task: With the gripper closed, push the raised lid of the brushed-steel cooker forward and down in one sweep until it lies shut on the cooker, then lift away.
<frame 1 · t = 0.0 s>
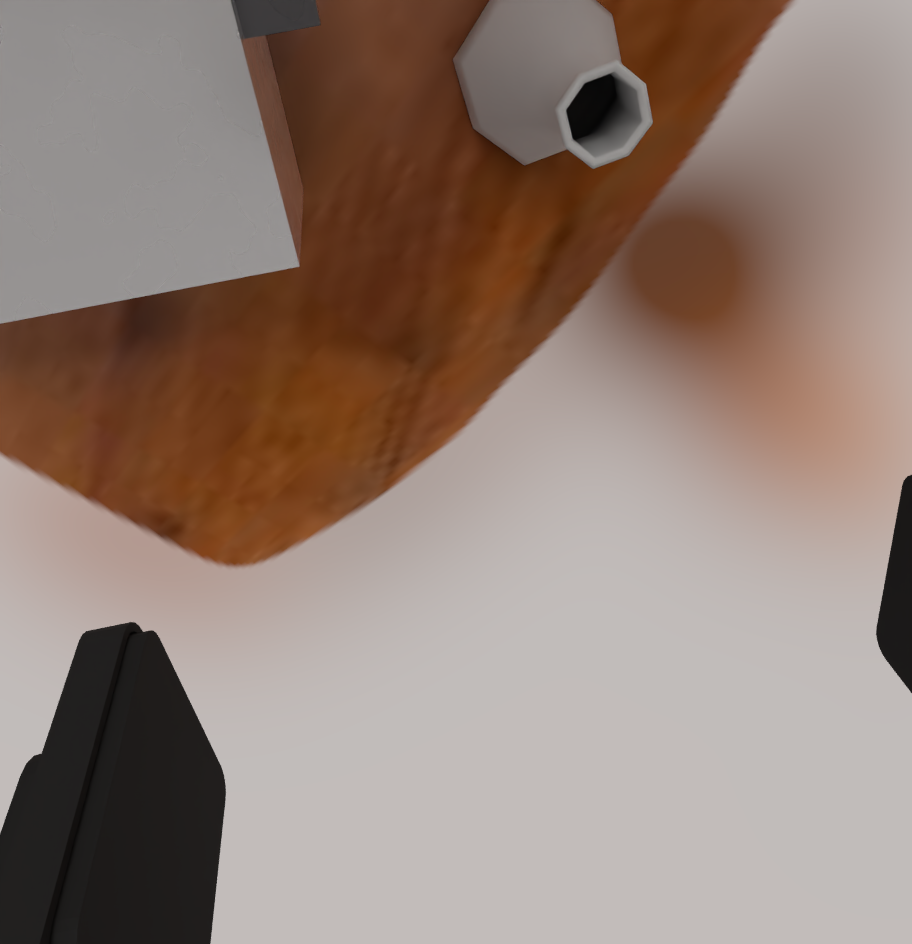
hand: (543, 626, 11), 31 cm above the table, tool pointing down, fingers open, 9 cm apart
flask: (538, 71, 37), on the table
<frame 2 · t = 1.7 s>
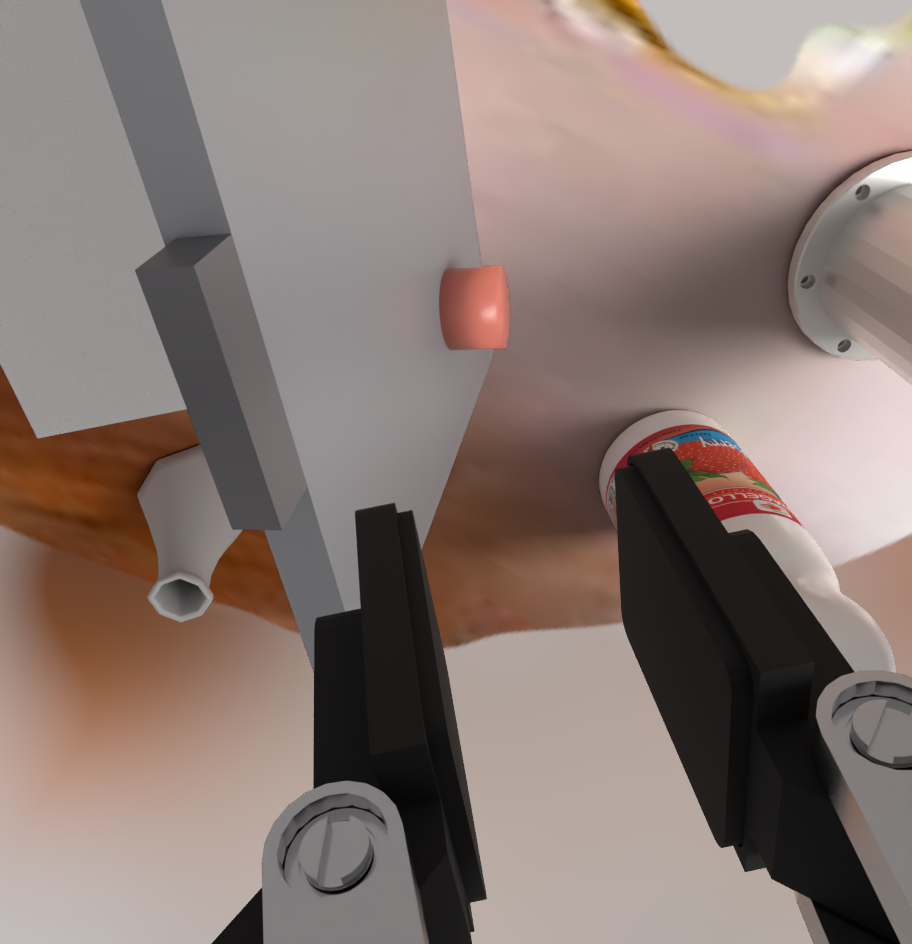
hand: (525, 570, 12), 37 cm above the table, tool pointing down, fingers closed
flask: (201, 492, 54), on the table
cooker: (208, 128, 42), on the table
fruit juice: (661, 465, 58), on the table
lid: (398, 222, 25), point 21 cm above the table, hinge at 70.0°
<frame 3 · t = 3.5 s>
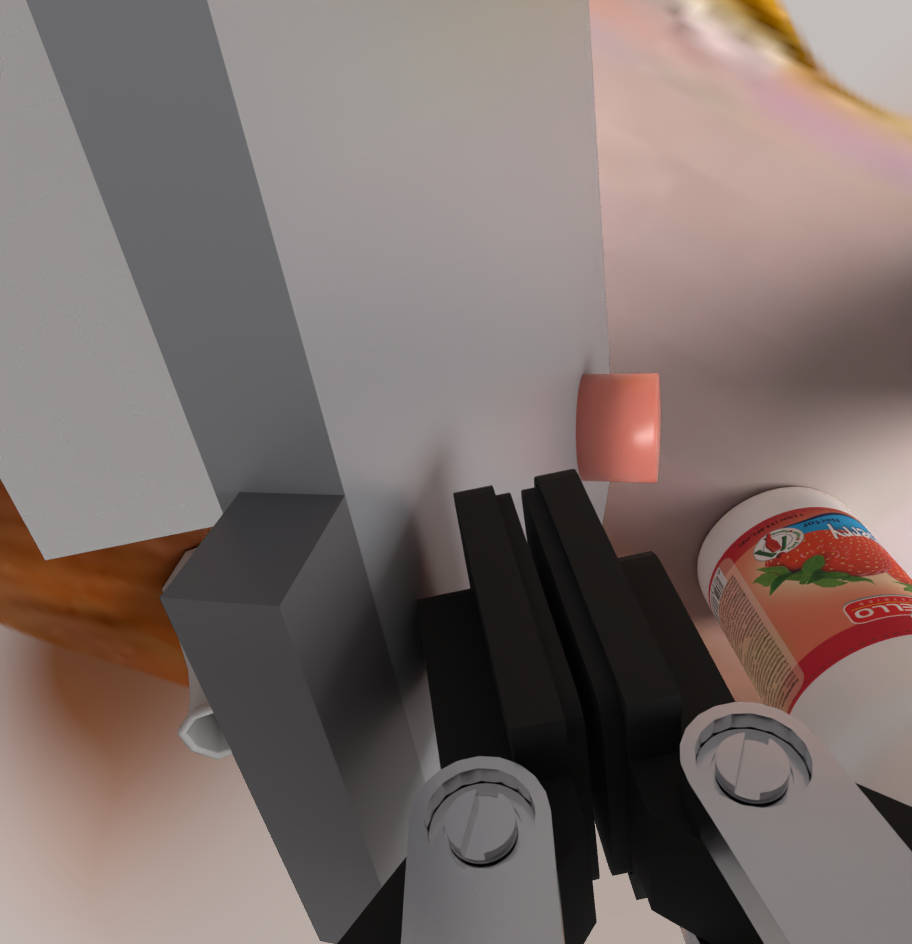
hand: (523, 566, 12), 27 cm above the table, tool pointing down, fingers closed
flask: (237, 585, 46), on the table
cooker: (254, 168, 34), on the table
fruit juice: (769, 546, 49), on the table
lid: (548, 345, 17), point 21 cm above the table, hinge at 67.9°, touching gripper
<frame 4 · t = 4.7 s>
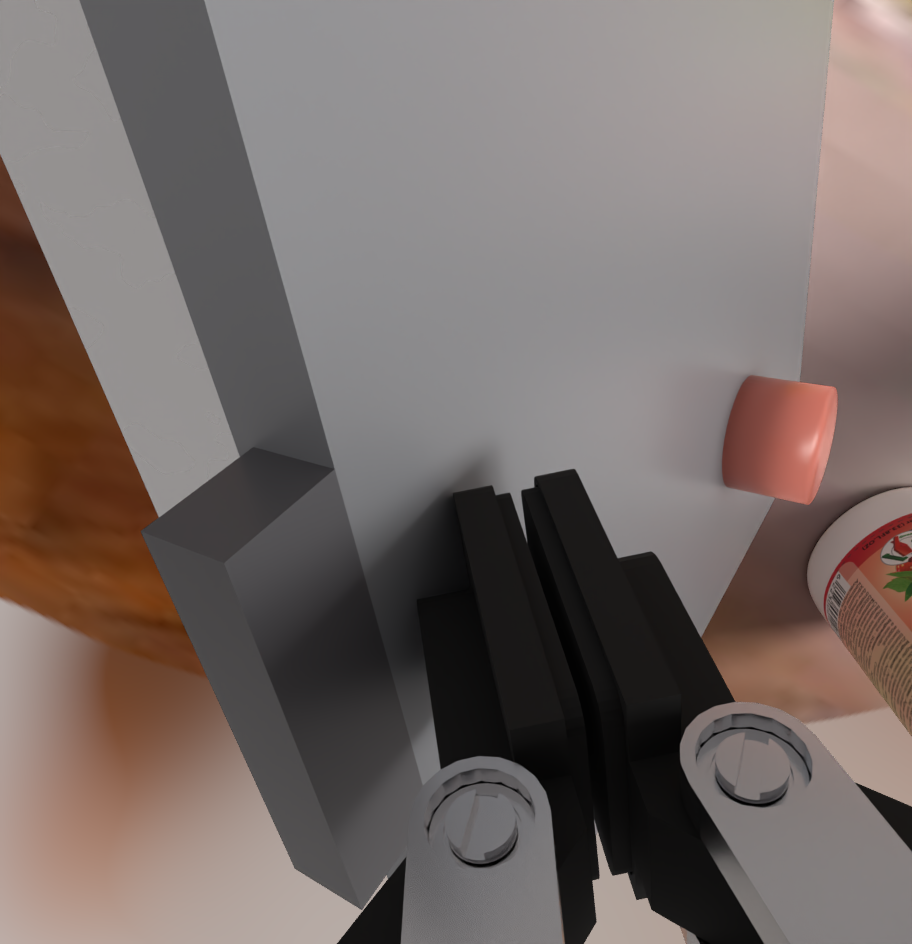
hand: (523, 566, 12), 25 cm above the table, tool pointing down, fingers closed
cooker: (390, 152, 32), on the table
fruit juice: (880, 548, 48), on the table
lid: (683, 342, 16), point 19 cm above the table, hinge at 48.6°, touching gripper
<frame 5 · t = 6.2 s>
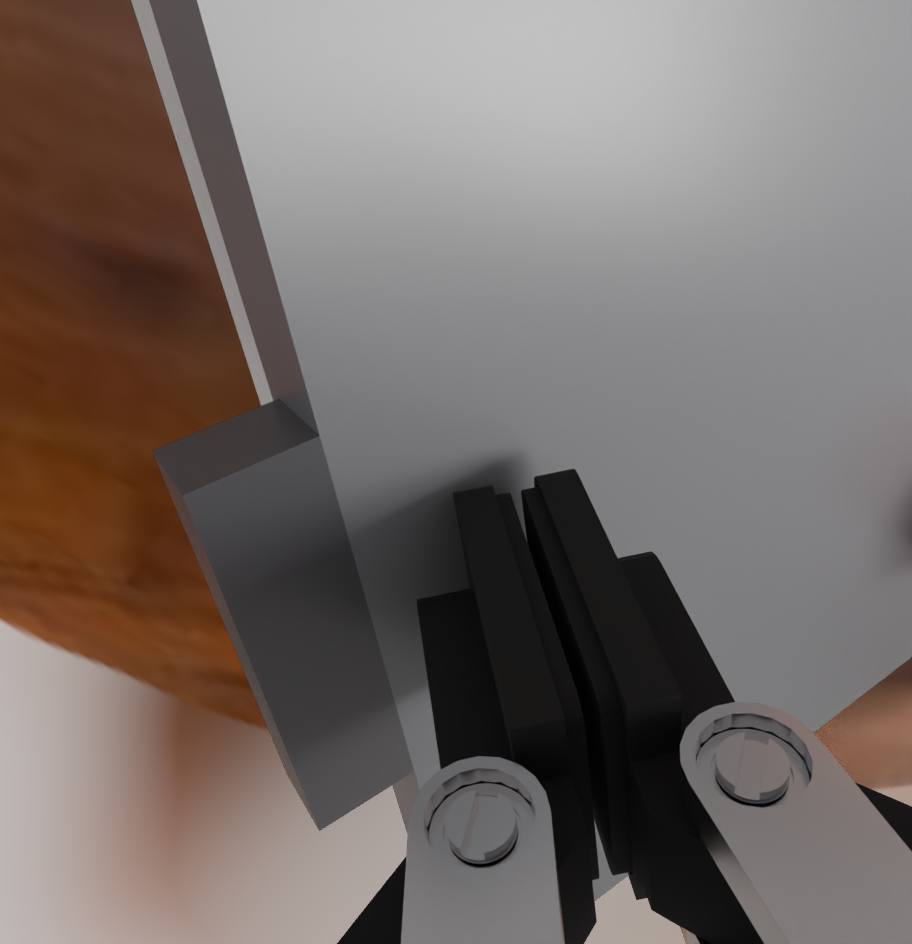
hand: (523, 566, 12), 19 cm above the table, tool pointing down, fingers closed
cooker: (566, 161, 28), on the table
lid: (853, 378, 14), point 16 cm above the table, hinge at 24.5°, touching gripper
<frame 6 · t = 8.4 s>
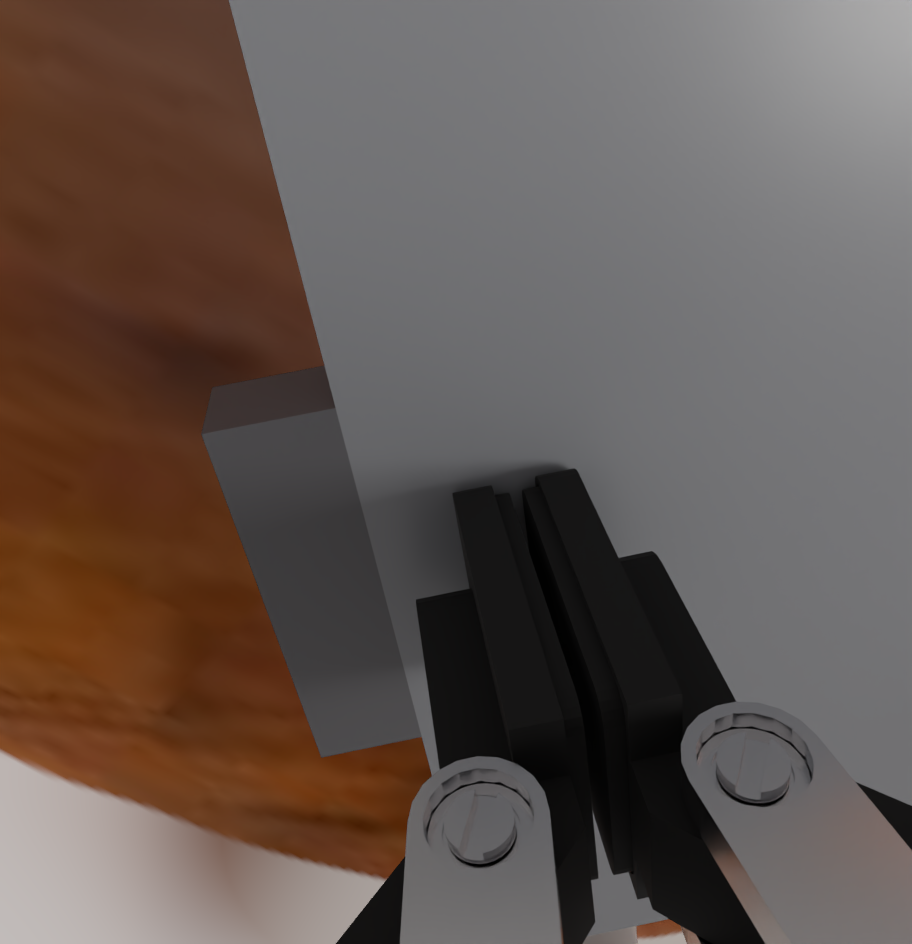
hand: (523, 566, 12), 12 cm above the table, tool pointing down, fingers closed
flask: (544, 775, 33), on the table
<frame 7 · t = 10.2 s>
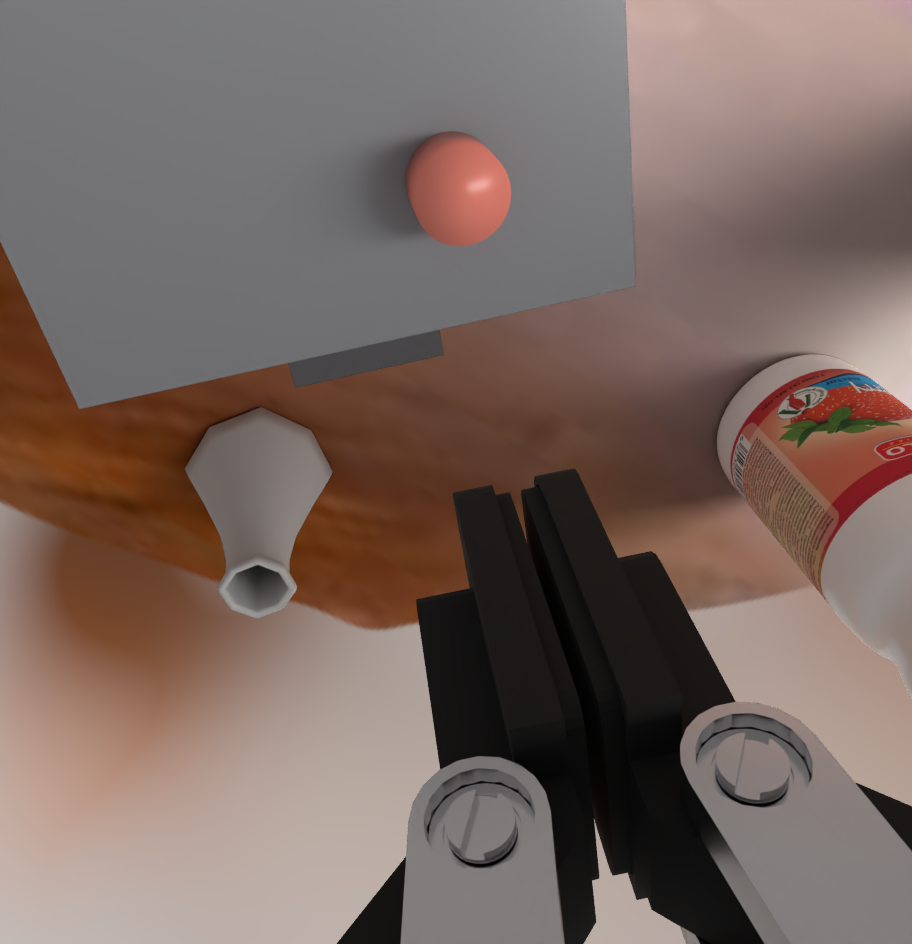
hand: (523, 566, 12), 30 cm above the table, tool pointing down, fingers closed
flask: (260, 465, 45), on the table
fruit juice: (785, 420, 50), on the table
lid: (260, 39, 24), point 12 cm above the table, hinge at -0.1°
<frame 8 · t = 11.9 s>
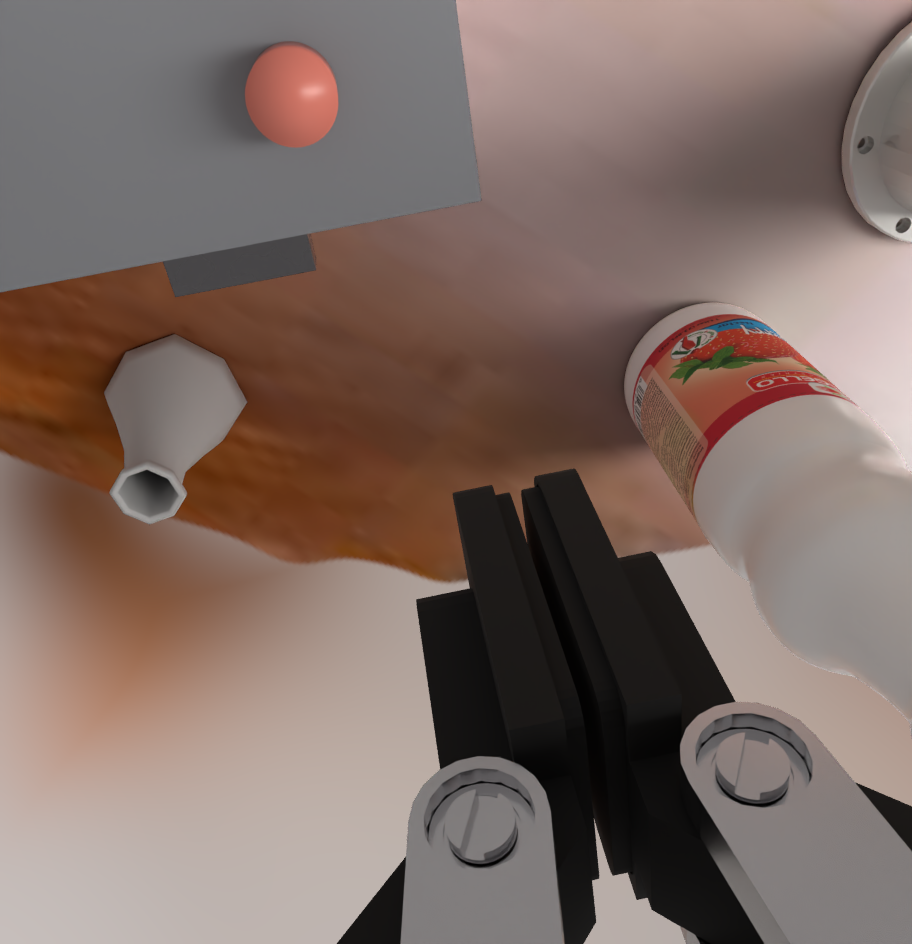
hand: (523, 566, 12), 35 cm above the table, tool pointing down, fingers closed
flask: (177, 393, 48), on the table
fruit juice: (693, 369, 52), on the table
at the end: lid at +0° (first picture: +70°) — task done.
